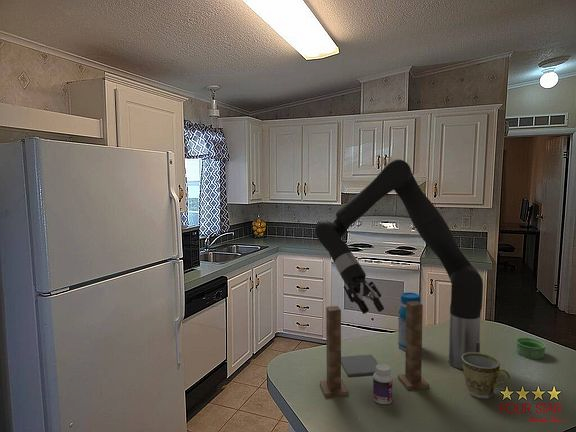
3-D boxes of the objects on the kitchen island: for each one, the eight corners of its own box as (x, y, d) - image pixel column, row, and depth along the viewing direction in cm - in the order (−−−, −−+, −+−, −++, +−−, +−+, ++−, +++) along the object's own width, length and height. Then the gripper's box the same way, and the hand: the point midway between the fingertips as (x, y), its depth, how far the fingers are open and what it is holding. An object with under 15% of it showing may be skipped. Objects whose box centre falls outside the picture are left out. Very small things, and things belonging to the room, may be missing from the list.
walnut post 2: (418, 376, 123) (420, 299, 121) (429, 388, 116) (431, 306, 114) (397, 378, 122) (398, 300, 120) (407, 390, 115) (408, 307, 113)
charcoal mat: (371, 356, 137) (371, 354, 137) (384, 373, 125) (384, 371, 125) (338, 359, 136) (338, 357, 136) (348, 376, 124) (348, 374, 124)
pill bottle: (392, 406, 108) (393, 372, 107) (373, 404, 109) (373, 370, 108) (391, 395, 113) (392, 363, 112) (372, 393, 114) (373, 361, 113)
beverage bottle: (398, 351, 141) (399, 297, 139) (397, 341, 149) (397, 290, 147) (423, 353, 139) (424, 298, 137) (420, 343, 147) (421, 292, 145)
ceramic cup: (454, 391, 115) (454, 358, 114) (471, 379, 121) (472, 349, 120) (499, 411, 104) (501, 376, 103) (516, 398, 110) (517, 364, 109)
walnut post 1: (342, 383, 120) (341, 303, 117) (348, 395, 113) (348, 311, 111) (319, 385, 119) (319, 305, 117) (325, 397, 112) (324, 313, 110)
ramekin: (539, 363, 131) (540, 350, 131) (511, 353, 138) (511, 342, 137) (549, 355, 137) (550, 343, 136) (521, 346, 144) (521, 335, 143)
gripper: (343, 262, 125) (369, 306, 117) (369, 263, 135) (394, 303, 126) (329, 275, 129) (352, 319, 120) (355, 275, 139) (378, 315, 130)
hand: (374, 311), depth 123 cm, fingers open, 8 cm apart
